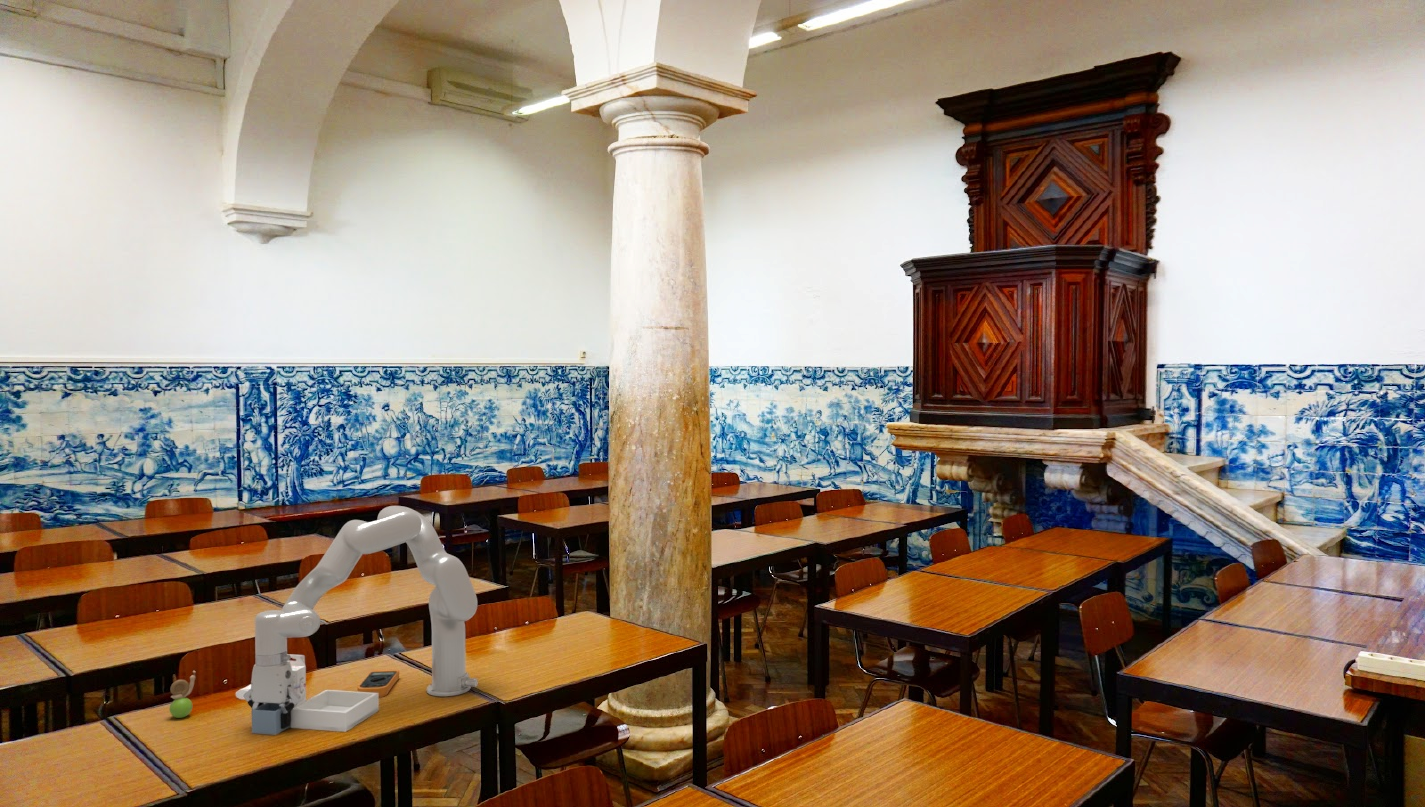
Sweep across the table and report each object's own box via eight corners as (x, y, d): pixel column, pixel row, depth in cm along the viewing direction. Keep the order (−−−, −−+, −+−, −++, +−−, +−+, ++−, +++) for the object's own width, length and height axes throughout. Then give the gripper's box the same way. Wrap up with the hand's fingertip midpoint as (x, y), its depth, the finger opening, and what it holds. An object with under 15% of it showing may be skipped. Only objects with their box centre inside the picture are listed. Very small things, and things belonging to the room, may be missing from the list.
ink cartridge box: (268, 711, 261) (267, 658, 261) (278, 705, 266) (277, 653, 266) (297, 712, 260) (296, 659, 260) (306, 706, 265) (306, 654, 265)
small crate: (292, 725, 250) (292, 702, 250) (275, 734, 243) (275, 711, 243) (269, 723, 252) (268, 701, 251) (251, 733, 245) (251, 710, 245)
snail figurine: (199, 716, 258) (198, 672, 257) (173, 722, 253) (172, 678, 253) (192, 711, 261) (191, 668, 261) (166, 717, 257) (166, 673, 256)
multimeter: (355, 699, 272) (355, 688, 272) (371, 680, 290) (371, 669, 290) (386, 698, 273) (385, 687, 273) (400, 679, 290) (400, 668, 290)
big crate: (378, 710, 261) (378, 693, 261) (345, 731, 246) (345, 712, 246) (326, 707, 264) (326, 689, 264) (290, 727, 249) (290, 708, 249)
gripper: (310, 656, 249) (311, 723, 250) (251, 653, 252) (252, 719, 253) (292, 664, 242) (293, 733, 242) (232, 661, 245) (233, 729, 245)
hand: (272, 725), depth 248 cm, fingers closed on small crate, 7 cm apart
